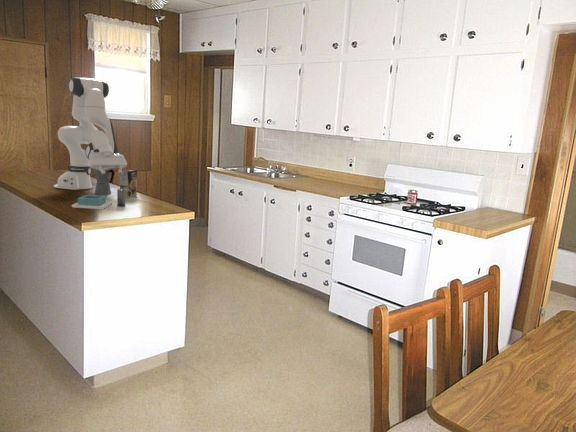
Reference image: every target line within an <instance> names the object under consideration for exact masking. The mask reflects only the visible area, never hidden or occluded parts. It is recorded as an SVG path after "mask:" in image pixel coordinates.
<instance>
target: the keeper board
mask: <svg viewBox="0 0 576 432" xmlns="http://www.w3.org/2000/svg"><path fill="white" fill-rule="evenodd" d="M111 205H113V203H112V201H107V196H106V195H98V194H94V195H93V194H84V195H82V196H80V197H77V202H75V203H74V204H71V208H74V209H75V208H76V209H77V208H78V209H92V210H105V209H106V208H108V207H110V206H111ZM104 208H105V209H104Z"/></svg>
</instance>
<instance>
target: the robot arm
mask: <svg viewBox="0 0 576 432" xmlns="http://www.w3.org/2000/svg"><path fill="white" fill-rule="evenodd" d="M68 88H69V91H70V93H71V94H72V95H73V99H72V108H71V115H72V118H73V119H74V120H76V121H77V122H79V125H64V126H61V127H60V128H59V129H58V130H57V138H58V140H59V141H60V142H61V143H63V145H64V146H65V147H66V149H67V150H68V153H69V158H70V161H69V163H70V164H69V165H68V166H66V169H67V171H66V172H64V173H62V174H61V175H60V176H59V177H58V179H57V184H54V185H53V188H54V189H64V190H74V191H75V190H88V189H93V185H92V180H91V172H92V171H91V169H93V170H94V169H96V168H98V170H99V171H101V173H102V174H105V170H103V169H102V168H108V169H118V171H117V173H118V174H119V175H120V174H121V173H122V170H123V169H126V168H127V166H128V162H127V160H126V158H125V156H124V154H122V153H119V149H118V146H117V141H116V137H115V130H114V127H113V122H112V120H111V119H110V117H108V115H107V112H106V103H105V99H106V98H107V97H108V96H109V93H110V87H109V84H108V83H107V82H106V81H104V80H103V79H102V80H101V79H100V80H99V79H96V78H92V77H79V76H78V77H77V76H76V77H72V78H71V79H70V80H69V82H68ZM96 126H98V127H100V128H101V129H102V130H103V131H102V130H99V129H98V128H97V127H96ZM82 144H83V145H86V147H85V149H83V148H82V146H81V145H82Z"/></svg>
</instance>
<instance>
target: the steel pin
mask: <svg viewBox="0 0 576 432" xmlns="http://www.w3.org/2000/svg"><path fill="white" fill-rule="evenodd" d="M116 192H117V194H116V195H117V196H116V199H117V201H116V202H117V204H116V205H117V207H118V208H120V207H122V208H124V207H126V198H125V190H124V189H120V188H118V189H117V191H116Z"/></svg>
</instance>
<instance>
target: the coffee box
mask: <svg viewBox="0 0 576 432" xmlns="http://www.w3.org/2000/svg"><path fill="white" fill-rule="evenodd" d="M121 170H122V173H121V174H119V189H124V190H125V199H130V198H135V197H137V195H138V194H137V192H138V170H137V169H121Z"/></svg>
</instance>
